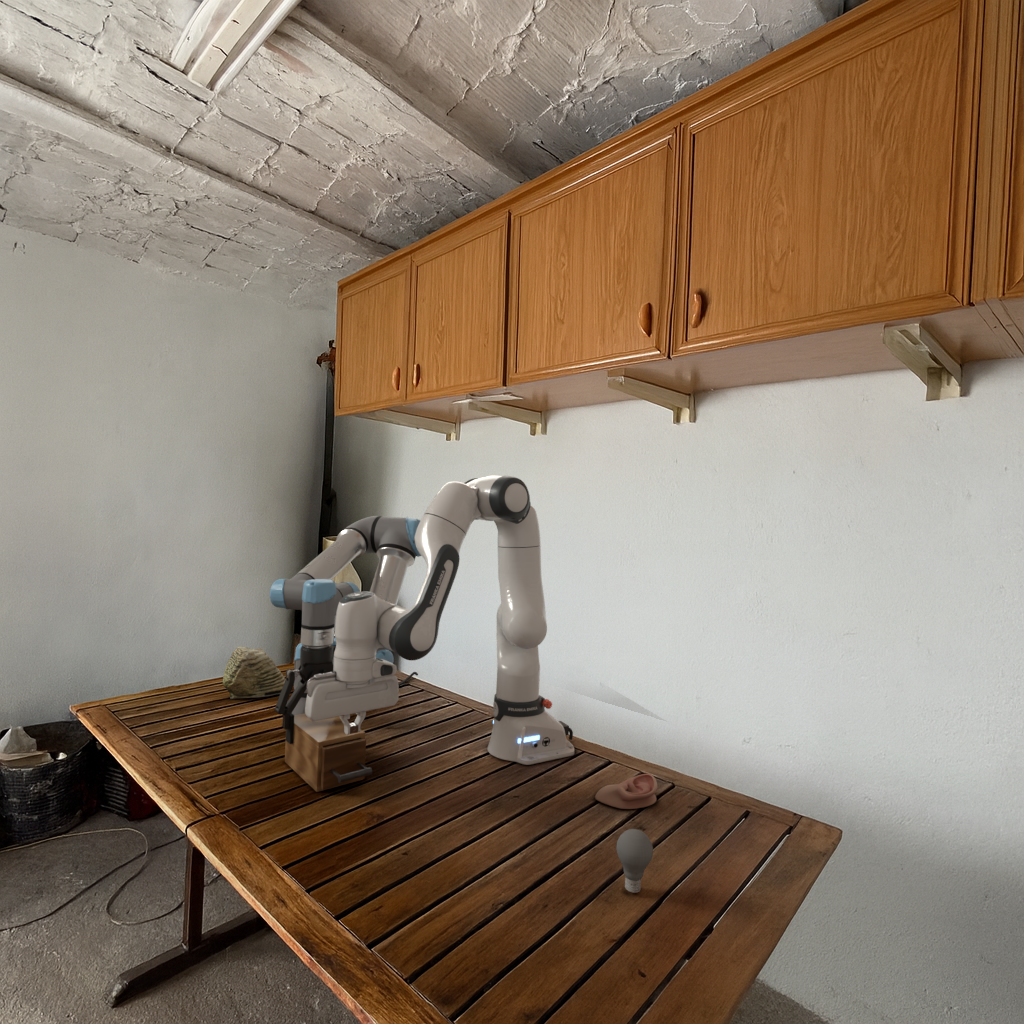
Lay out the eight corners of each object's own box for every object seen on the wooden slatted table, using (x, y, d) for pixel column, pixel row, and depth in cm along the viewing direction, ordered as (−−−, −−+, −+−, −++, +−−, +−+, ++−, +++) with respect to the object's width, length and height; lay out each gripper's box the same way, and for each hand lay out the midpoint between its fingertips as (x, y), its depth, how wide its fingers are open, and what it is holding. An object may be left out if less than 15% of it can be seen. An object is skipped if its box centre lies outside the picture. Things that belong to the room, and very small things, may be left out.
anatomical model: (594, 786, 135) (598, 765, 146) (593, 805, 135) (597, 782, 146) (658, 795, 132) (657, 772, 143) (657, 814, 132) (656, 790, 143)
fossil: (218, 695, 195) (220, 647, 195) (278, 685, 208) (279, 640, 207) (228, 703, 189) (230, 653, 188) (289, 692, 201) (290, 645, 201)
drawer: (376, 788, 137) (378, 748, 136) (334, 800, 130) (336, 758, 130) (331, 752, 154) (333, 716, 154) (292, 761, 148) (293, 724, 148)
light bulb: (610, 879, 108) (613, 822, 108) (644, 879, 109) (647, 822, 109) (619, 902, 102) (622, 840, 102) (655, 901, 103) (658, 840, 103)
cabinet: (363, 779, 143) (365, 732, 142) (316, 792, 136) (318, 742, 135) (328, 751, 157) (330, 708, 157) (284, 761, 150) (286, 716, 150)
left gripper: (273, 654, 140) (269, 752, 140) (369, 642, 155) (365, 731, 155) (261, 647, 146) (258, 741, 146) (355, 636, 161) (352, 722, 161)
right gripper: (313, 679, 126) (310, 748, 126) (403, 665, 139) (401, 727, 139) (301, 671, 131) (298, 738, 131) (389, 659, 144) (386, 719, 144)
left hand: (313, 736), depth 151 cm, fingers closed on cabinet, 11 cm apart
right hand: (352, 732), depth 135 cm, fingers closed
